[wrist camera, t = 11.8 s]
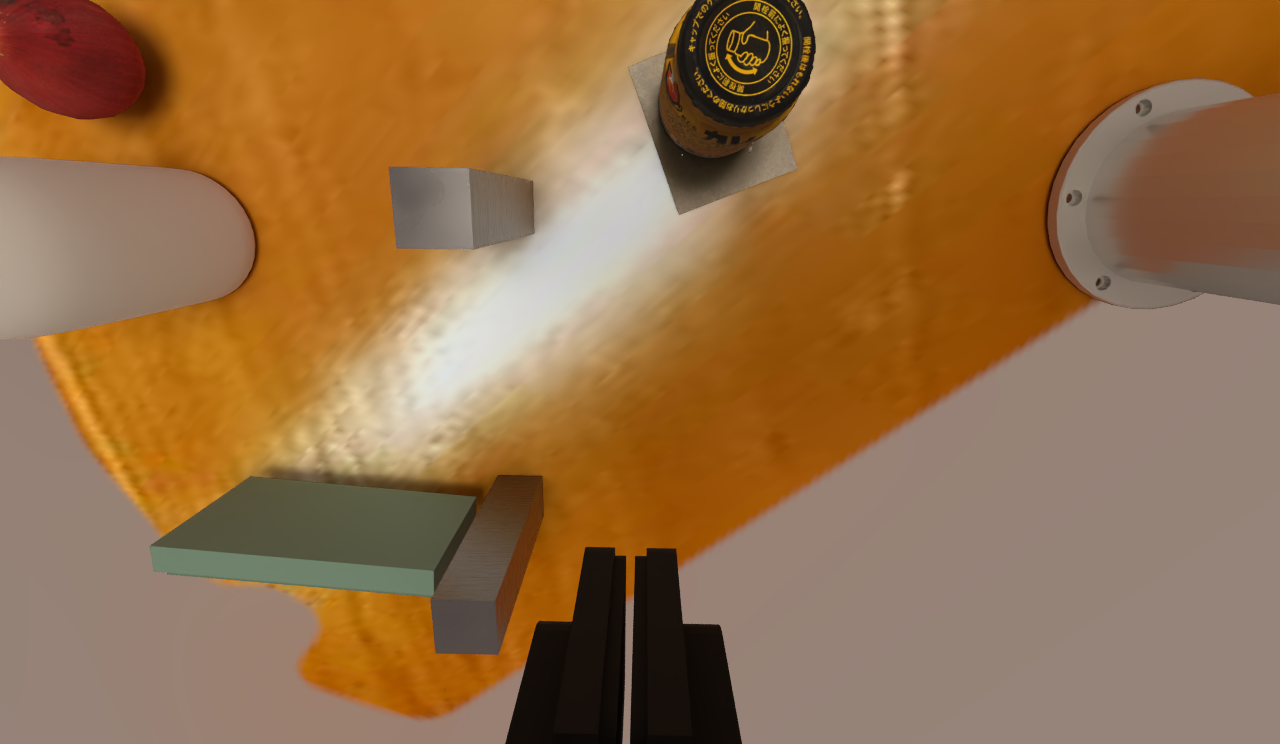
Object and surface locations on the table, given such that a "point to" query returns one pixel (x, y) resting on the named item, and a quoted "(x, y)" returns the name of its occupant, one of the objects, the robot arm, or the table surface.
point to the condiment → (726, 95)
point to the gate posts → (513, 510)
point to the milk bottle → (112, 243)
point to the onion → (69, 57)
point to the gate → (321, 537)
